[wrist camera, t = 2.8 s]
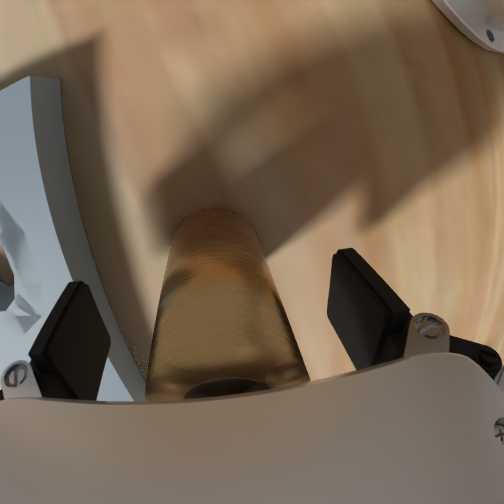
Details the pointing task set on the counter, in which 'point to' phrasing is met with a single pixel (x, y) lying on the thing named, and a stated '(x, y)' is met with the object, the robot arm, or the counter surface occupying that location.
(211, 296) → the amber peg
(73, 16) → the counter surface
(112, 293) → the counter surface
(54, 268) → the plate
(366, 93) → the counter surface
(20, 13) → the counter surface
